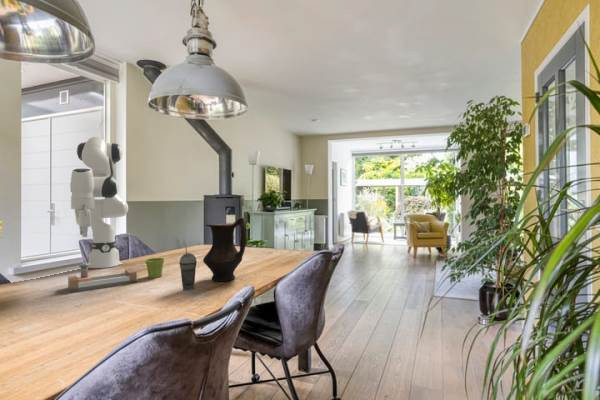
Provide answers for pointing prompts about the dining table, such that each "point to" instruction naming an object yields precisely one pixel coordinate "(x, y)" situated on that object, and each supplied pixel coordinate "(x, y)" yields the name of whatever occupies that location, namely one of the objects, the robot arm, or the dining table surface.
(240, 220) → the jug
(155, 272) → the plant pot
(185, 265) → the beverage cup
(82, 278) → the keeper
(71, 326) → the dining table surface
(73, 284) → the track
